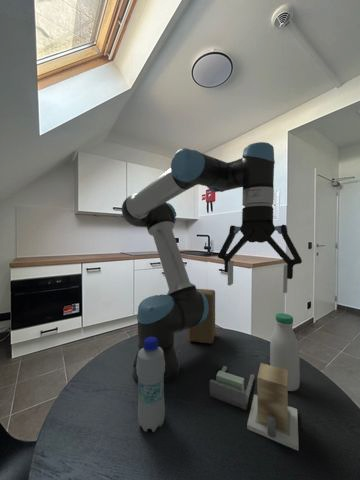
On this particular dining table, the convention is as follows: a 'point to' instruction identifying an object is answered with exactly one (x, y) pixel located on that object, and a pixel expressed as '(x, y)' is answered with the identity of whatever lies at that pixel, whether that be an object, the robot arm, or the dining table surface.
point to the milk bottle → (285, 350)
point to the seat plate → (279, 435)
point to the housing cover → (230, 380)
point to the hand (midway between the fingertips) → (256, 287)
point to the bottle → (150, 385)
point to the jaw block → (273, 395)
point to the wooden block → (206, 328)
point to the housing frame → (231, 392)
